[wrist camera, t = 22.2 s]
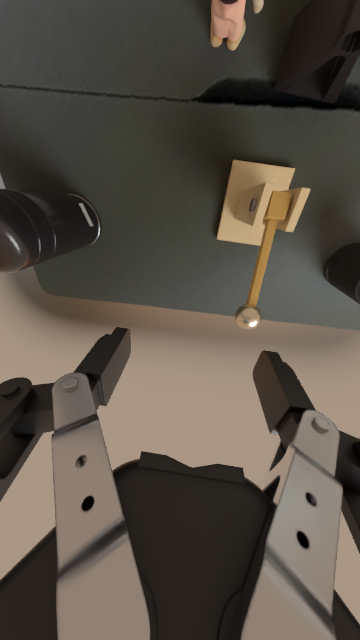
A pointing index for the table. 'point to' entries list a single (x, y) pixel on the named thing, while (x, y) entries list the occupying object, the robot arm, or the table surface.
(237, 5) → the grandmother figurine
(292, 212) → the bracket
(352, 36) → the phone stand
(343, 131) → the table surface
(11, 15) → the table surface
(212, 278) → the table surface
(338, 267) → the pen holder
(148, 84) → the table surface
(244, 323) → the lever
